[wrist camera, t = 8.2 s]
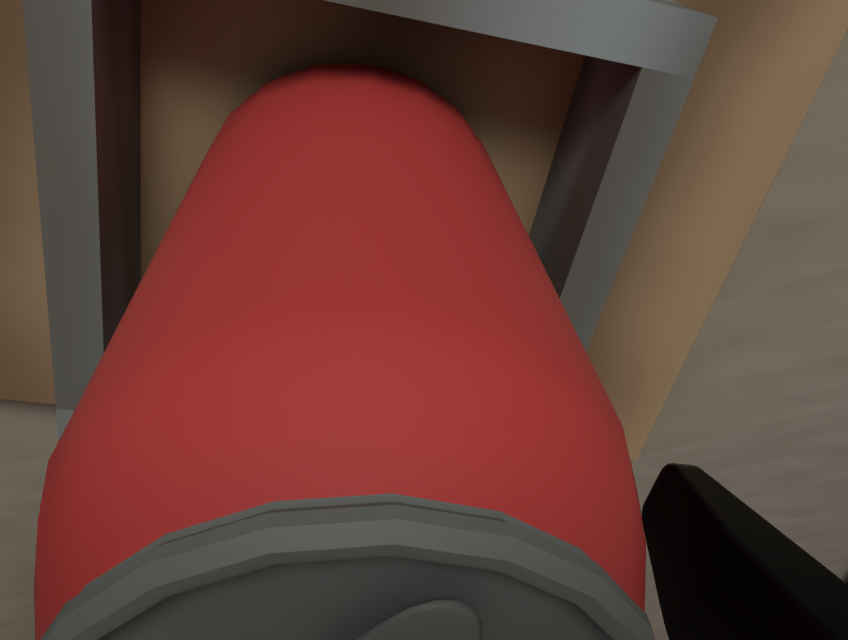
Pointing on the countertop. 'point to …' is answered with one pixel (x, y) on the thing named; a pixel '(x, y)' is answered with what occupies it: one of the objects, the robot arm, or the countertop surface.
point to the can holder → (458, 84)
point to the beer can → (343, 404)
